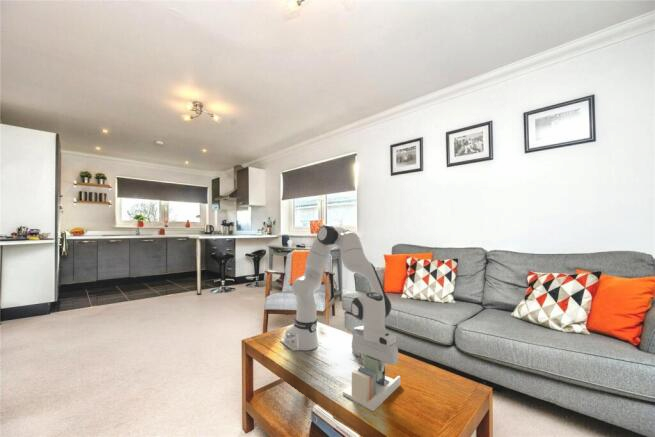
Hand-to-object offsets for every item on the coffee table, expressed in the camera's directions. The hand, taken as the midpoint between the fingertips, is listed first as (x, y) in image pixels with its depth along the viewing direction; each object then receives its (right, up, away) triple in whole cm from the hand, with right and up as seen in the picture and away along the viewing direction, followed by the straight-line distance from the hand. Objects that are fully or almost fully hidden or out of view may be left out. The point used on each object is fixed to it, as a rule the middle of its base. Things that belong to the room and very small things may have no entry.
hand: (373, 367), depth 109 cm
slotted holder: (0, -9, 0) cm, 9 cm away
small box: (-1, -10, +31) cm, 33 cm away
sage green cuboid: (0, -4, 0) cm, 4 cm away
